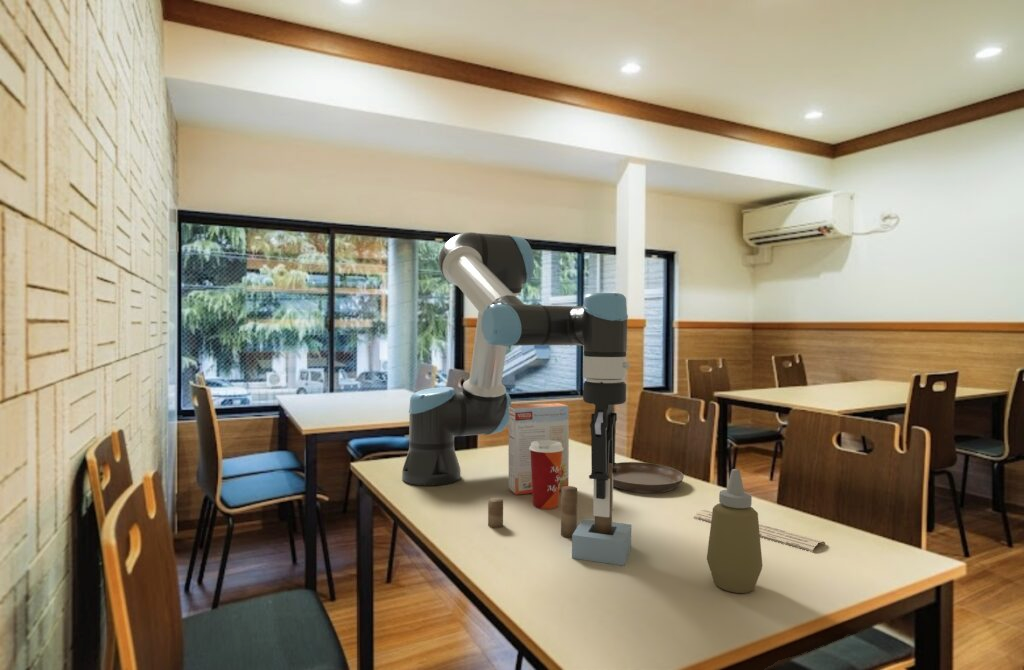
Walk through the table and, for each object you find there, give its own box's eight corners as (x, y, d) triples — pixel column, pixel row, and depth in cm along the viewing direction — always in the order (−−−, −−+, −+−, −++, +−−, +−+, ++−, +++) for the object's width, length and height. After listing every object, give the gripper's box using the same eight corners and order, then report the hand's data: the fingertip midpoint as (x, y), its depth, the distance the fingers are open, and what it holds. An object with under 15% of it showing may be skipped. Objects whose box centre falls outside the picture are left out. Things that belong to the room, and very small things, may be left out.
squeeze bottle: (697, 574, 91) (699, 464, 91) (745, 573, 92) (747, 463, 92) (720, 598, 83) (722, 477, 83) (772, 597, 84) (775, 476, 84)
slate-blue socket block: (582, 539, 106) (582, 518, 106) (631, 546, 103) (631, 524, 103) (571, 558, 98) (572, 534, 97) (624, 565, 95) (624, 541, 95)
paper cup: (560, 512, 122) (561, 447, 122) (525, 509, 123) (526, 445, 123) (564, 501, 130) (565, 440, 129) (531, 498, 131) (532, 438, 131)
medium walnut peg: (562, 531, 110) (563, 485, 110) (578, 533, 109) (578, 487, 109) (559, 536, 108) (559, 489, 107) (574, 538, 107) (575, 491, 106)
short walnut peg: (491, 522, 115) (491, 497, 115) (505, 523, 114) (505, 499, 114) (485, 526, 112) (486, 501, 112) (499, 528, 111) (500, 503, 111)
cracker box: (559, 484, 144) (560, 402, 143) (569, 490, 138) (570, 405, 138) (507, 488, 139) (507, 403, 139) (514, 495, 133) (515, 407, 133)
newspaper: (693, 521, 119) (693, 513, 119) (710, 514, 123) (711, 506, 123) (812, 556, 101) (812, 546, 101) (827, 546, 106) (827, 537, 106)
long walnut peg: (595, 538, 102) (597, 461, 102) (612, 540, 101) (613, 462, 101) (592, 544, 99) (593, 465, 99) (610, 546, 98) (611, 466, 98)
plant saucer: (689, 498, 133) (689, 484, 133) (601, 493, 136) (601, 480, 136) (677, 476, 154) (677, 464, 154) (600, 472, 157) (601, 460, 157)
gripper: (619, 385, 91) (617, 530, 91) (631, 377, 106) (630, 502, 107) (573, 383, 94) (572, 524, 94) (592, 376, 109) (590, 497, 109)
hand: (603, 512), depth 100 cm, fingers closed on long walnut peg, 3 cm apart
